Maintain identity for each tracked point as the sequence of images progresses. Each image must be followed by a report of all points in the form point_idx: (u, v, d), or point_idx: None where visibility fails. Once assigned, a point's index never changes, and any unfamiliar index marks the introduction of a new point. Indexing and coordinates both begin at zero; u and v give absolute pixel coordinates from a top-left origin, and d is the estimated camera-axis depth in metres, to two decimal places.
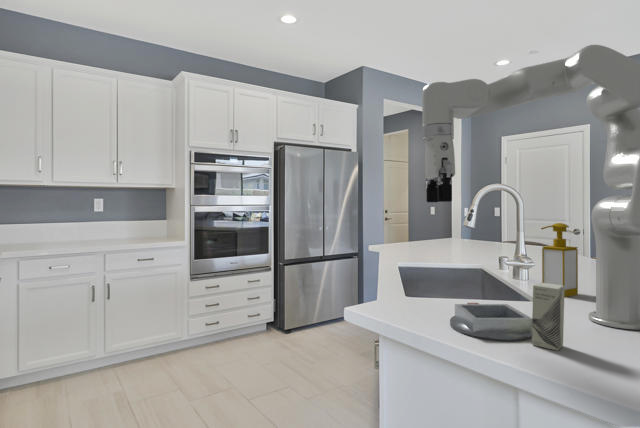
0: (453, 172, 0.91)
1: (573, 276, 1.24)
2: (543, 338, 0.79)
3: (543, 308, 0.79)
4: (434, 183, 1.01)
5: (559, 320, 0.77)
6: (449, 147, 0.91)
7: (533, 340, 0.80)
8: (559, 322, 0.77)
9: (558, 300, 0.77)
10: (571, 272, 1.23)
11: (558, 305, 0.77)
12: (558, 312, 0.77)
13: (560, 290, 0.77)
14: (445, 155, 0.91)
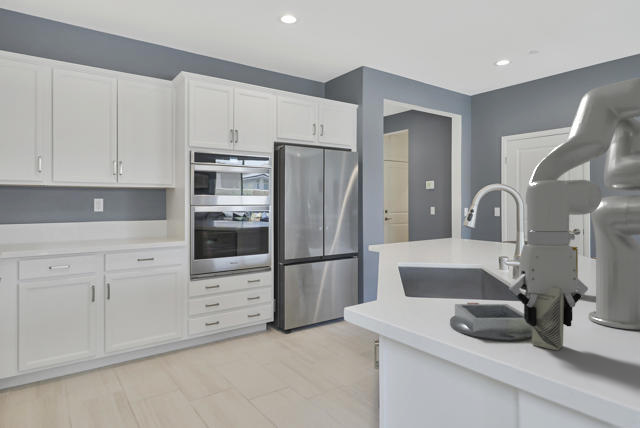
0: None
1: None
2: (543, 338, 0.79)
3: (543, 308, 0.79)
4: None
5: (559, 319, 0.77)
6: None
7: (533, 340, 0.80)
8: (559, 322, 0.77)
9: (558, 300, 0.77)
10: None
11: (558, 305, 0.77)
12: (558, 312, 0.77)
13: (560, 290, 0.77)
14: None
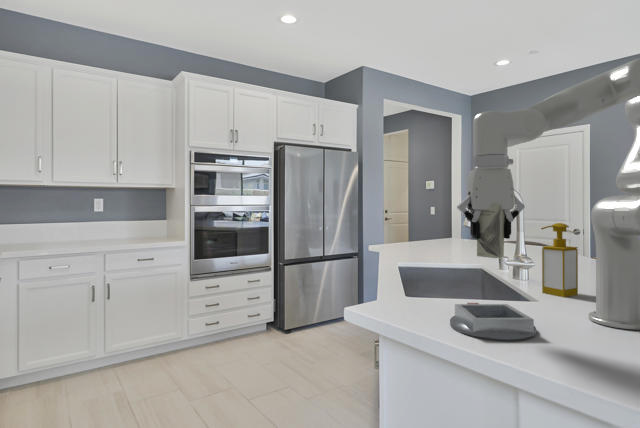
0: None
1: (573, 276, 1.24)
2: (485, 249, 0.91)
3: (485, 223, 0.91)
4: None
5: (498, 231, 0.89)
6: None
7: (477, 252, 0.92)
8: (498, 234, 0.89)
9: (497, 214, 0.89)
10: (571, 272, 1.23)
11: (497, 218, 0.89)
12: (497, 225, 0.89)
13: (499, 206, 0.89)
14: None
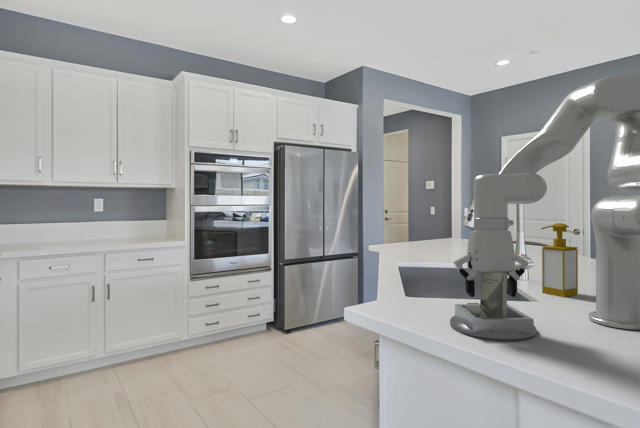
0: None
1: (573, 276, 1.24)
2: (488, 316, 0.91)
3: (488, 291, 0.91)
4: None
5: (501, 300, 0.89)
6: None
7: None
8: (501, 302, 0.89)
9: (500, 283, 0.89)
10: (571, 272, 1.23)
11: (500, 288, 0.89)
12: (500, 294, 0.89)
13: (502, 275, 0.89)
14: None
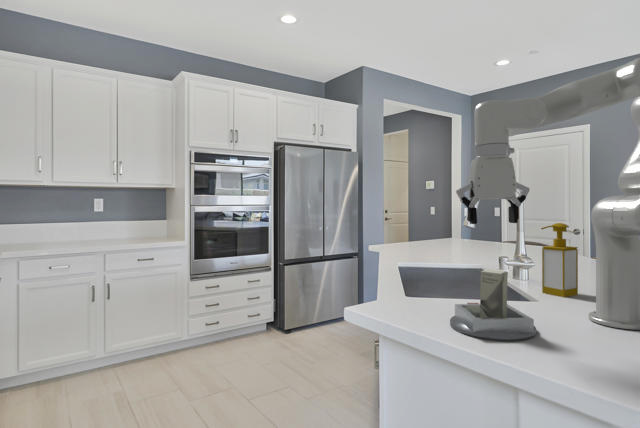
0: None
1: (573, 276, 1.24)
2: (488, 316, 0.91)
3: (488, 291, 0.91)
4: None
5: (501, 300, 0.89)
6: None
7: None
8: (501, 302, 0.89)
9: (500, 283, 0.89)
10: (571, 272, 1.23)
11: (500, 288, 0.89)
12: (500, 294, 0.89)
13: (502, 275, 0.89)
14: None
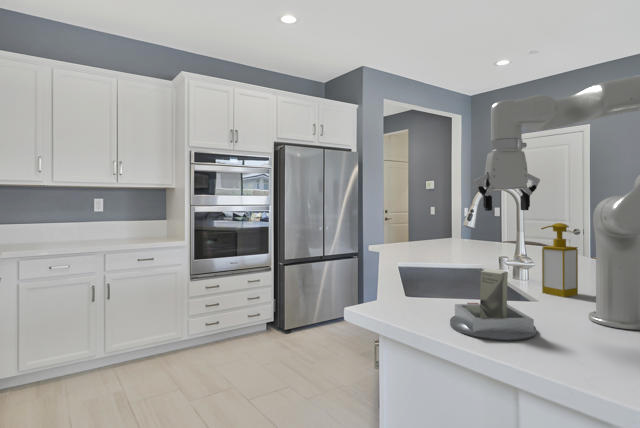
0: None
1: (573, 276, 1.24)
2: (488, 316, 0.91)
3: (488, 291, 0.91)
4: None
5: (501, 300, 0.89)
6: None
7: None
8: (501, 302, 0.89)
9: (500, 283, 0.89)
10: (571, 272, 1.23)
11: (500, 288, 0.89)
12: (500, 294, 0.89)
13: (502, 275, 0.89)
14: None
